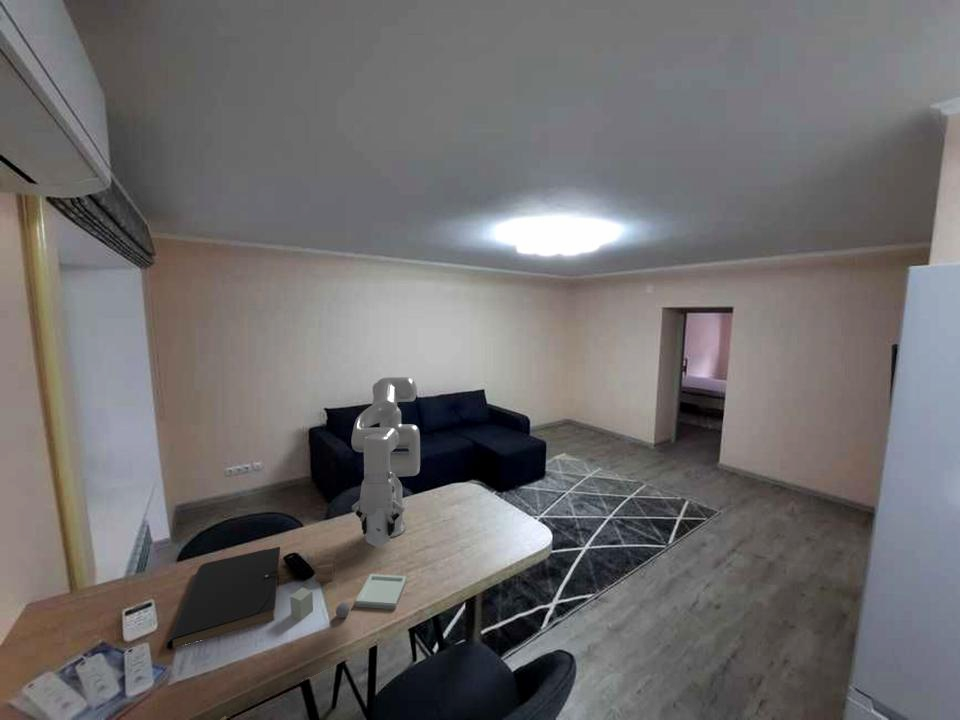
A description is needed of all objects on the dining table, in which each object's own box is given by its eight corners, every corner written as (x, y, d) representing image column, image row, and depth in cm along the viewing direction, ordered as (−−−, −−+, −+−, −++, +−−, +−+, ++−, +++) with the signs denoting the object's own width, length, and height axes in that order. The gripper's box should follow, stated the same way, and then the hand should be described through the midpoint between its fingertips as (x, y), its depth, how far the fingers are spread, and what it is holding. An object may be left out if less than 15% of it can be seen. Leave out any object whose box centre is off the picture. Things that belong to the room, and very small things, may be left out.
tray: (370, 579, 123) (370, 573, 122) (406, 581, 122) (406, 576, 121) (355, 606, 111) (355, 600, 110) (395, 609, 110) (395, 603, 110)
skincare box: (365, 542, 114) (364, 504, 113) (376, 535, 118) (375, 498, 117) (380, 548, 111) (379, 509, 110) (391, 541, 115) (390, 503, 114)
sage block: (303, 606, 110) (302, 587, 110) (313, 611, 109) (312, 591, 108) (291, 616, 107) (290, 596, 106) (301, 620, 105) (300, 600, 105)
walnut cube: (319, 572, 126) (319, 558, 125) (335, 571, 127) (335, 556, 126) (316, 582, 121) (315, 567, 120) (332, 580, 122) (332, 566, 121)
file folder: (275, 607, 105) (165, 638, 95) (275, 621, 105) (167, 654, 95) (280, 545, 135) (198, 563, 125) (281, 556, 135) (199, 575, 125)
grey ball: (339, 611, 109) (339, 599, 108) (351, 611, 108) (351, 600, 108) (333, 620, 105) (333, 608, 105) (346, 621, 105) (346, 609, 105)
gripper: (409, 472, 116) (410, 527, 117) (354, 469, 117) (356, 524, 119) (402, 482, 108) (402, 541, 110) (343, 479, 110) (345, 537, 112)
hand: (378, 532), depth 114 cm, fingers closed on skincare box, 7 cm apart
